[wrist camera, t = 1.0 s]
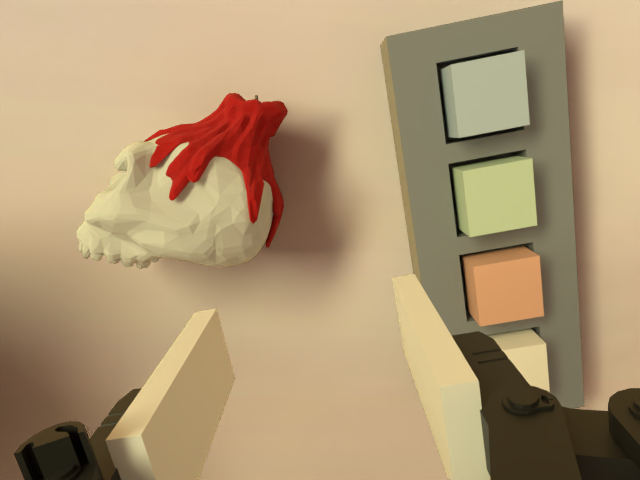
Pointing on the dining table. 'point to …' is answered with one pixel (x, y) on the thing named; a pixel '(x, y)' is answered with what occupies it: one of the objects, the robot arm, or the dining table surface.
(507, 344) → the key ivory
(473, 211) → the key sage
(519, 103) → the key greyblue
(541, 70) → the keypad
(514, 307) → the key terracotta
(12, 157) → the dining table surface
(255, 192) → the candle
